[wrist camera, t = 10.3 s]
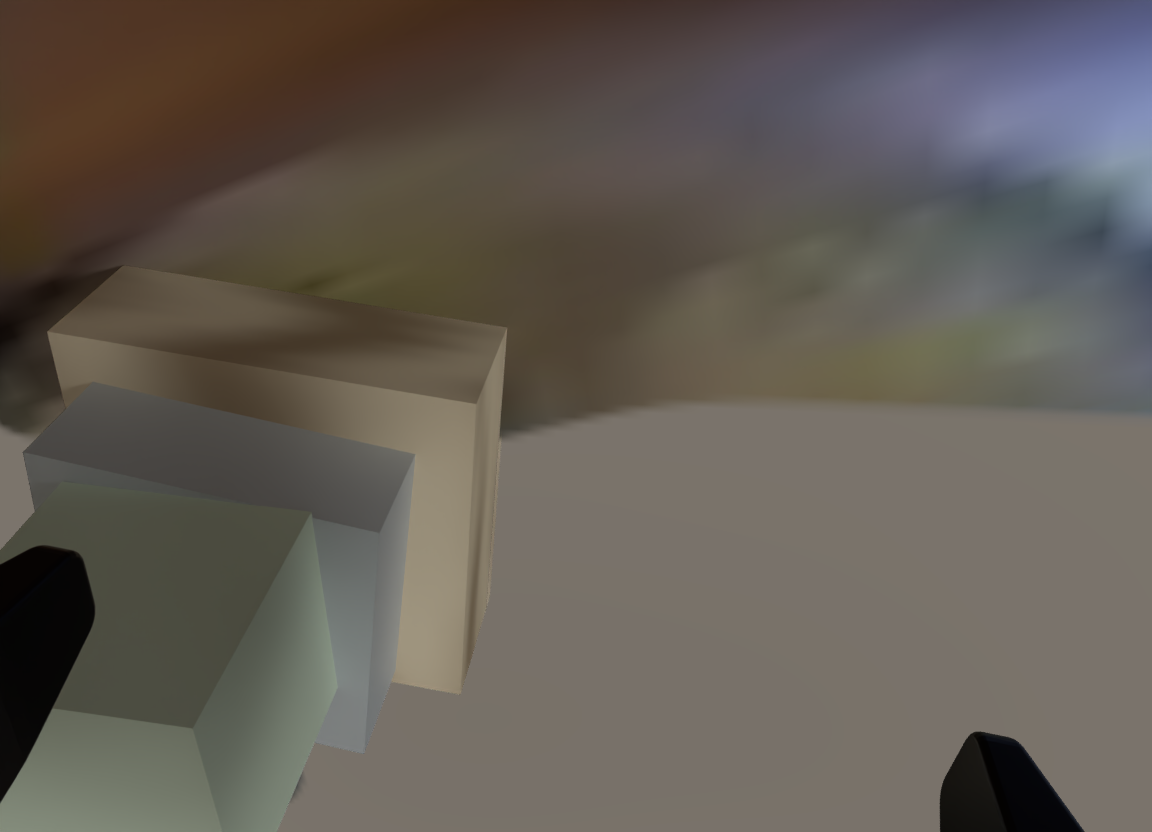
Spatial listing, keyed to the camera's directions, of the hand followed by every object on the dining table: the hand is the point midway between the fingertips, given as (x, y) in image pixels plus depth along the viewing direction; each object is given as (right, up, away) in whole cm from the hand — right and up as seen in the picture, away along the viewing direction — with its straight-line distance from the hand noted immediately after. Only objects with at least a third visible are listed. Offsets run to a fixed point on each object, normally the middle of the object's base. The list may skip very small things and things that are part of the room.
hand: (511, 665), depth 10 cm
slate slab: (-7, 0, +13) cm, 15 cm away
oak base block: (-6, +2, +16) cm, 17 cm away
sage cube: (-7, -1, +11) cm, 13 cm away
